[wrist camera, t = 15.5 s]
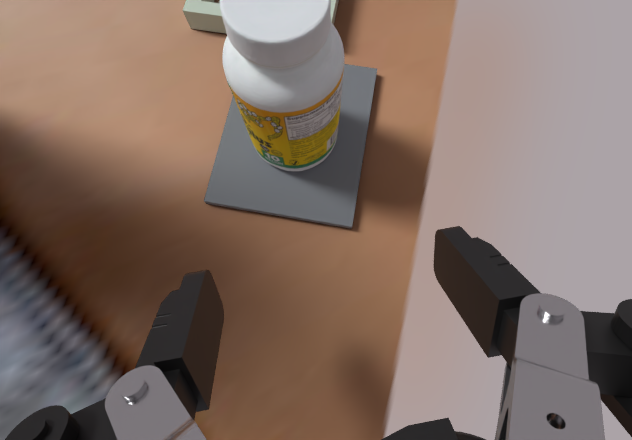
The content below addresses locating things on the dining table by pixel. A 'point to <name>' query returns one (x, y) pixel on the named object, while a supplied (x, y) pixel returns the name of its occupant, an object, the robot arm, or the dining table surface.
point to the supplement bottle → (285, 77)
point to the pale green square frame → (218, 15)
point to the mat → (298, 186)
